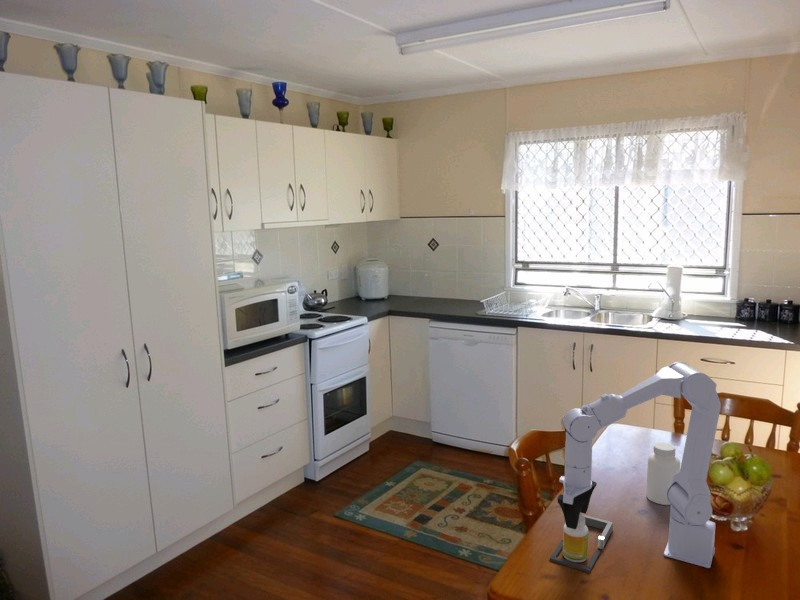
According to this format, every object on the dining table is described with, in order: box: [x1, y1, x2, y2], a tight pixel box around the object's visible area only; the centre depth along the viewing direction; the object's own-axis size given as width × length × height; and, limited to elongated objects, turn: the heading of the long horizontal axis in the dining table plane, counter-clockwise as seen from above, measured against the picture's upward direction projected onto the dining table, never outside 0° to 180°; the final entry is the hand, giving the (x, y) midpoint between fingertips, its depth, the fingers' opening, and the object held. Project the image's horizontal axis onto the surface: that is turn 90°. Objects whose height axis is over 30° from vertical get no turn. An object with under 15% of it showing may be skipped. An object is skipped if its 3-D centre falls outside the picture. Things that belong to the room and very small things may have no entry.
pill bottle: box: [645, 442, 681, 506], centre depth 161 cm, size 8×8×15 cm
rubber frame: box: [549, 539, 601, 574], centre depth 137 cm, size 9×8×1 cm
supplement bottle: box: [562, 513, 589, 564], centre depth 137 cm, size 5×5×10 cm
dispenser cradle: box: [581, 513, 614, 550], centre depth 146 cm, size 9×10×2 cm
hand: (576, 519), depth 136 cm, fingers open, 7 cm apart
